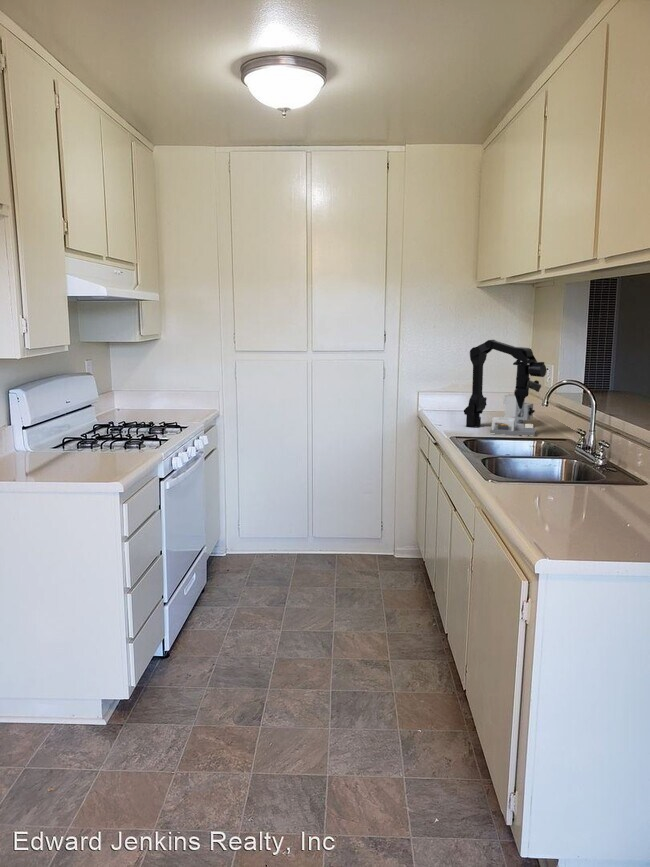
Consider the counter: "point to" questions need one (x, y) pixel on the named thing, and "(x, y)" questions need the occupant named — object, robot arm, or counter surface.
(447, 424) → the counter surface
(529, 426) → the rocker switch
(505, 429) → the breaker panel
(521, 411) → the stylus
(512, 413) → the circuit breaker
